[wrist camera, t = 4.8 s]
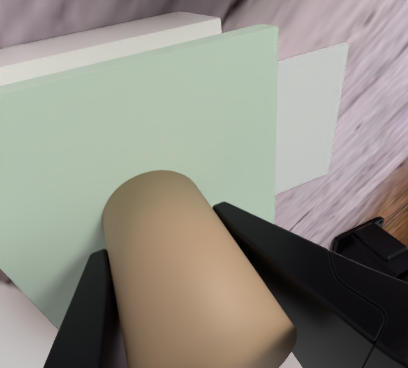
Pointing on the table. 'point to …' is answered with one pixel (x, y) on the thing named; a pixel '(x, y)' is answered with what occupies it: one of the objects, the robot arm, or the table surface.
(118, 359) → the robot arm
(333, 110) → the mat
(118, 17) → the table surface
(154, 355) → the lid
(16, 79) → the white open tray
